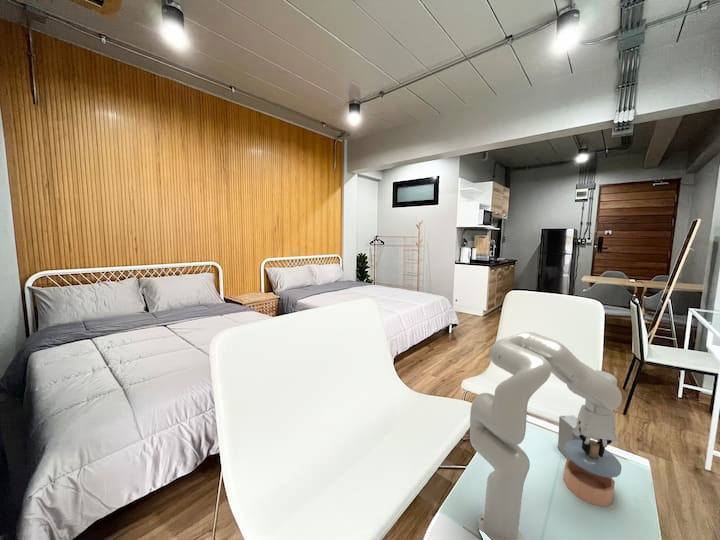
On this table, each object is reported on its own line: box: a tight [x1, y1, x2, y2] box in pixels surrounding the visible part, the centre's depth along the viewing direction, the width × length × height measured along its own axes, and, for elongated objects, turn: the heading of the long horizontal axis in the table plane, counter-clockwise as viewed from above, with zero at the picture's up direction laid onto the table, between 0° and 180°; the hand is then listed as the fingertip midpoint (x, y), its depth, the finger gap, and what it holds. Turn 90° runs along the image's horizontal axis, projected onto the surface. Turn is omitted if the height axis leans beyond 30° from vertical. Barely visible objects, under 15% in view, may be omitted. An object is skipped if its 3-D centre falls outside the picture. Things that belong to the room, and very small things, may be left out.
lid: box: [565, 439, 623, 479], centre depth 104 cm, size 16×16×6 cm
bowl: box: [562, 458, 616, 507], centre depth 106 cm, size 14×14×6 cm
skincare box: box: [557, 415, 581, 460], centre depth 120 cm, size 8×7×16 cm
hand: (592, 452), depth 104 cm, fingers closed on lid, 3 cm apart
